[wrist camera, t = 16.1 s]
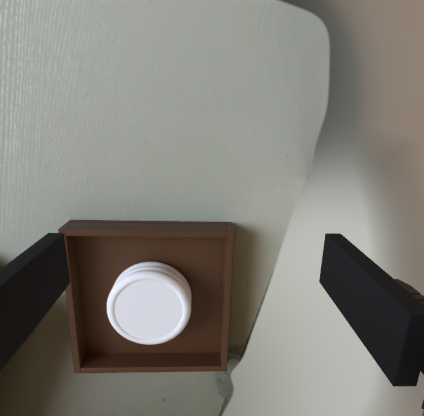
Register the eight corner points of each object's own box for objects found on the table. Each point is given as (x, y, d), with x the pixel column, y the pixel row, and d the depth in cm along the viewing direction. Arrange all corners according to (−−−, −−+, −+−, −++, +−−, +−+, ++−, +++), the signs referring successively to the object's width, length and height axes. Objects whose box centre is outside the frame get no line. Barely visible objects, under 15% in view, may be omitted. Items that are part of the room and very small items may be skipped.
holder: (231, 222, 38) (234, 231, 35) (224, 353, 43) (226, 371, 40) (69, 219, 37) (57, 229, 34) (83, 354, 42) (74, 373, 39)
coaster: (205, 279, 39) (205, 294, 36) (170, 338, 41) (168, 358, 38) (132, 246, 38) (126, 259, 34) (100, 310, 40) (92, 328, 36)
